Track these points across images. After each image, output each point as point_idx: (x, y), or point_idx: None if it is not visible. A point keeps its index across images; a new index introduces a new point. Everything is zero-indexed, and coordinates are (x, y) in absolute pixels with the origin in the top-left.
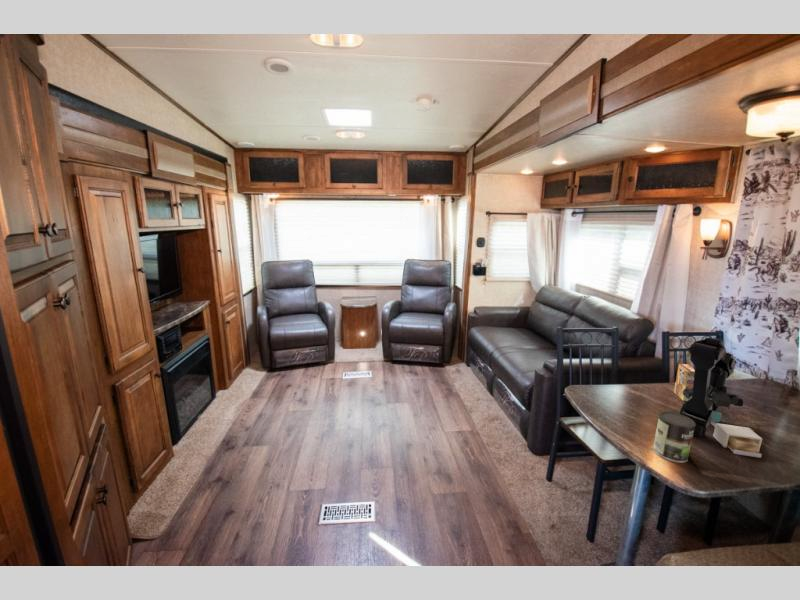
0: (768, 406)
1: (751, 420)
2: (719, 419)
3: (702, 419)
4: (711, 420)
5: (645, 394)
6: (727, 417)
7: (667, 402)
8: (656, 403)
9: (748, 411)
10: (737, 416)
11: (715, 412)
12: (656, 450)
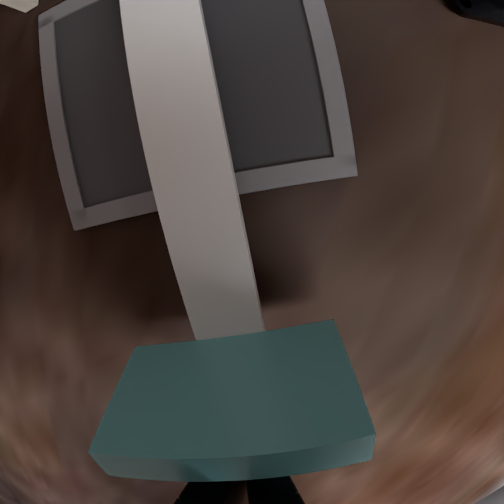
0: (13, 501)
1: (4, 435)
2: (135, 372)
3: (335, 326)
4: (228, 343)
5: (479, 476)
6: None
7: (424, 475)
8: (498, 427)
9: (37, 489)
10: (55, 462)
11: (182, 457)
12: None
